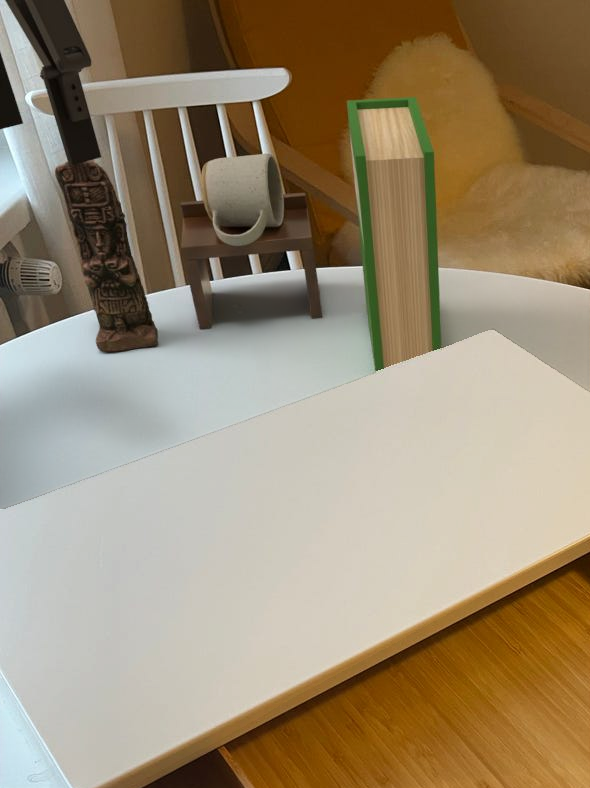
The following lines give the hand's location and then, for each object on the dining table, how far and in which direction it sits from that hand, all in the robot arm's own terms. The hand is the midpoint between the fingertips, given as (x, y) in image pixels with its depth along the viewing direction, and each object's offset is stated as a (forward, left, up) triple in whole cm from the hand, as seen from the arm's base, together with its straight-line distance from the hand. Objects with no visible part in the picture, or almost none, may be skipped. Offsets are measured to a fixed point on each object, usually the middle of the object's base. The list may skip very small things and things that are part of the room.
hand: (45, 143), depth 83 cm
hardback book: (+12, +30, -27) cm, 42 cm away
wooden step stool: (-9, +25, -27) cm, 38 cm away
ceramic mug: (-8, +24, -17) cm, 31 cm away
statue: (-14, +9, -27) cm, 32 cm away
